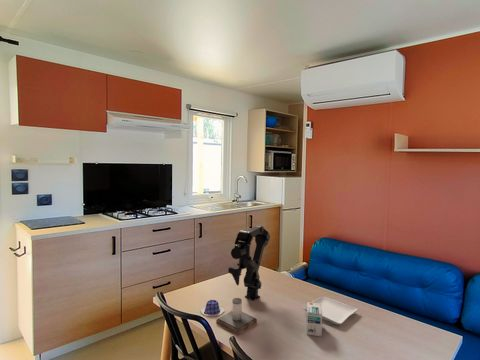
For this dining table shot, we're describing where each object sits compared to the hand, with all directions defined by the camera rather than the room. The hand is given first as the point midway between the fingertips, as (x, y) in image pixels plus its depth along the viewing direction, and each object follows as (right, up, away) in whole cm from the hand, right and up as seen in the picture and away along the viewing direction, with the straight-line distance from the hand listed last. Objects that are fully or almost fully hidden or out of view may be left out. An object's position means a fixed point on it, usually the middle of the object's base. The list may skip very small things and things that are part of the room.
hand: (243, 282), depth 165 cm
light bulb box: (+33, -16, -20) cm, 42 cm away
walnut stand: (-3, -14, -16) cm, 22 cm away
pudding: (-16, -14, -5) cm, 22 cm away
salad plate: (+45, -15, -4) cm, 48 cm away
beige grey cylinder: (-3, -12, -16) cm, 20 cm away
